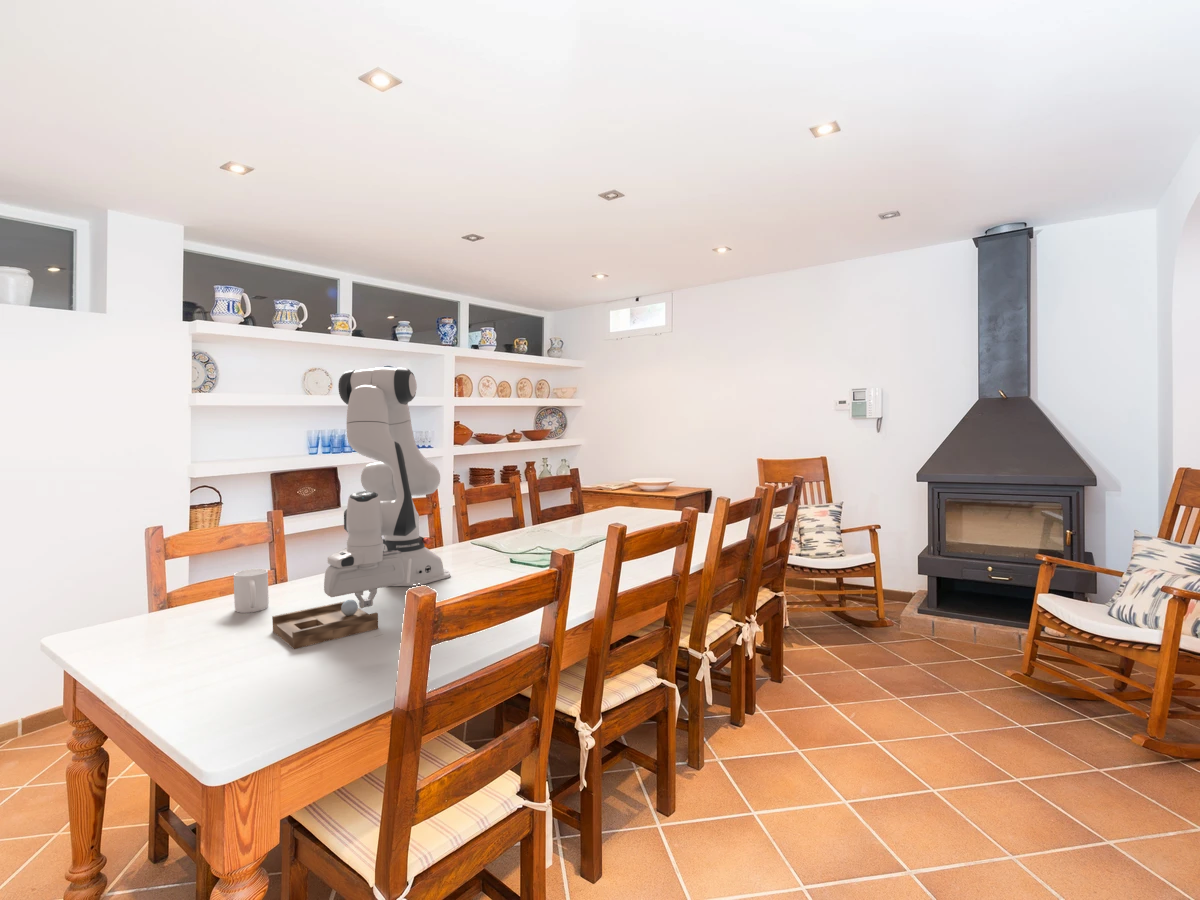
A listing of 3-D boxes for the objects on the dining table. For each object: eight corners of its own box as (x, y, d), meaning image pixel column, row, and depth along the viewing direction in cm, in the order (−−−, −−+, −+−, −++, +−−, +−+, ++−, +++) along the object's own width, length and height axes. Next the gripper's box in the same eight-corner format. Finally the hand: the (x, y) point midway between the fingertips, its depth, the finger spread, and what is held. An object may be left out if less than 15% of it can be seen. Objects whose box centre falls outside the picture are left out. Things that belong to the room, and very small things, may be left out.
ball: (354, 611, 162) (353, 596, 162) (360, 615, 159) (360, 600, 159) (338, 615, 159) (338, 599, 159) (344, 618, 156) (344, 603, 156)
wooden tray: (352, 613, 168) (352, 599, 168) (378, 628, 156) (378, 613, 156) (272, 631, 154) (272, 616, 154) (294, 649, 142) (293, 632, 142)
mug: (270, 614, 168) (269, 576, 167) (235, 619, 163) (234, 580, 163) (267, 602, 178) (266, 567, 177) (234, 607, 173) (233, 571, 173)
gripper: (397, 546, 171) (398, 596, 171) (320, 558, 156) (322, 612, 157) (408, 550, 166) (408, 600, 167) (330, 562, 152) (331, 618, 153)
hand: (366, 606), depth 162 cm, fingers closed
